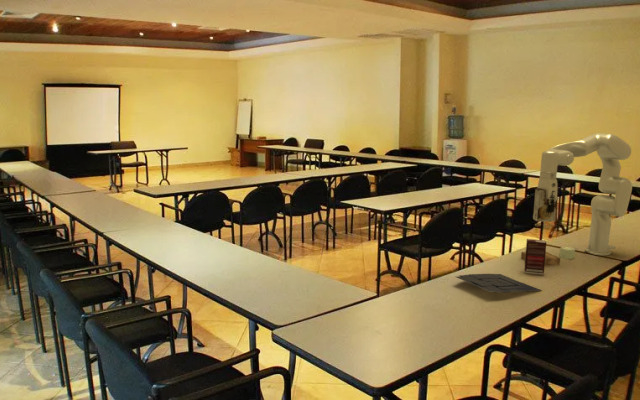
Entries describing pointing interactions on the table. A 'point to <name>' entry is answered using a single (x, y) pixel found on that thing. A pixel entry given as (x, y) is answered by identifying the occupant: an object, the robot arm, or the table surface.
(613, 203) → the robot arm
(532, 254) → the supplement box
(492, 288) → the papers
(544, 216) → the coffee box
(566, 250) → the sage cube
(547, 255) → the walnut block
